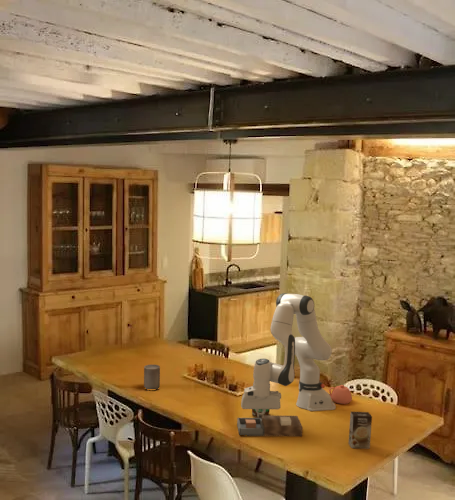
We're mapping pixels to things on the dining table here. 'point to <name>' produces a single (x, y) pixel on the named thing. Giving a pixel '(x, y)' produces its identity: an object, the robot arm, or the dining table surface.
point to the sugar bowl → (340, 394)
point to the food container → (260, 412)
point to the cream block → (285, 421)
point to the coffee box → (360, 430)
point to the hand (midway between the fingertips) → (260, 417)
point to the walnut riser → (281, 426)
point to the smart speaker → (152, 376)
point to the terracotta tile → (250, 423)
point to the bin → (250, 431)
